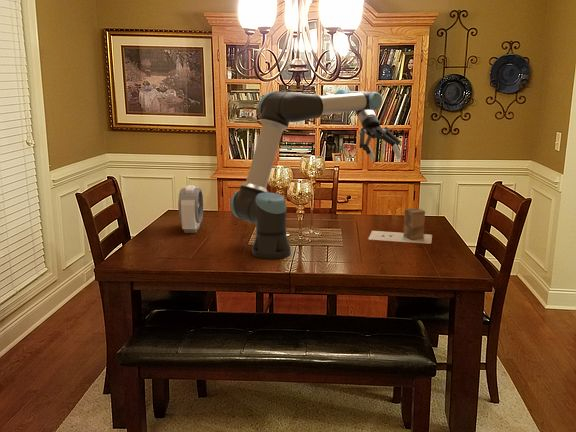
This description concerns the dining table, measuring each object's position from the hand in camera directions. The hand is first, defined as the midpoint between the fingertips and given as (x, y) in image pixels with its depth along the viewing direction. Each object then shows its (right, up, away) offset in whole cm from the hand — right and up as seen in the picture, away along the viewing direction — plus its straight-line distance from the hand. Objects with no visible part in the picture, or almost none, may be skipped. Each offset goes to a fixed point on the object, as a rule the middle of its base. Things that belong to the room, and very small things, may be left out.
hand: (386, 158), depth 254 cm
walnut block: (+10, -34, -5) cm, 36 cm away
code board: (+5, -35, -4) cm, 35 cm away
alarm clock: (-86, -31, +11) cm, 93 cm away
